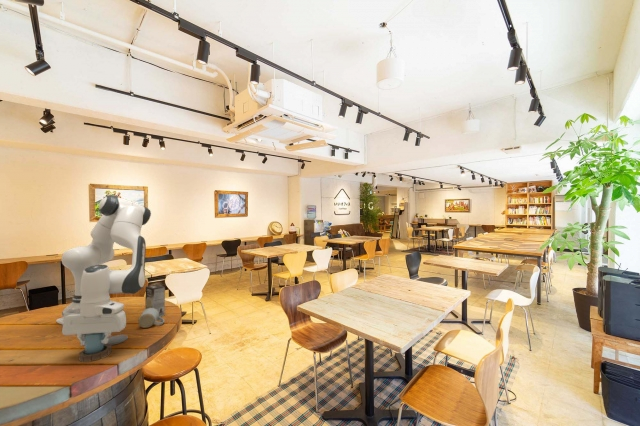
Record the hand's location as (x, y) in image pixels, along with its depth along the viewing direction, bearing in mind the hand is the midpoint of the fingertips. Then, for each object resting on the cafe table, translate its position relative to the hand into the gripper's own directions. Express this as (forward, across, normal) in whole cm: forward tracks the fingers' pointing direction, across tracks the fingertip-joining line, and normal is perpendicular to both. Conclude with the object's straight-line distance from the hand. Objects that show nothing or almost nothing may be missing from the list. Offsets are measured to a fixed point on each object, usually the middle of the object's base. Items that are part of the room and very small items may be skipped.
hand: (94, 344), depth 102 cm
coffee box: (+5, +4, +42) cm, 43 cm away
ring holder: (+4, 0, 0) cm, 4 cm away
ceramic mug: (+5, +8, +29) cm, 30 cm away
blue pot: (+4, 0, +2) cm, 4 cm away
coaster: (+4, 0, +13) cm, 13 cm away
